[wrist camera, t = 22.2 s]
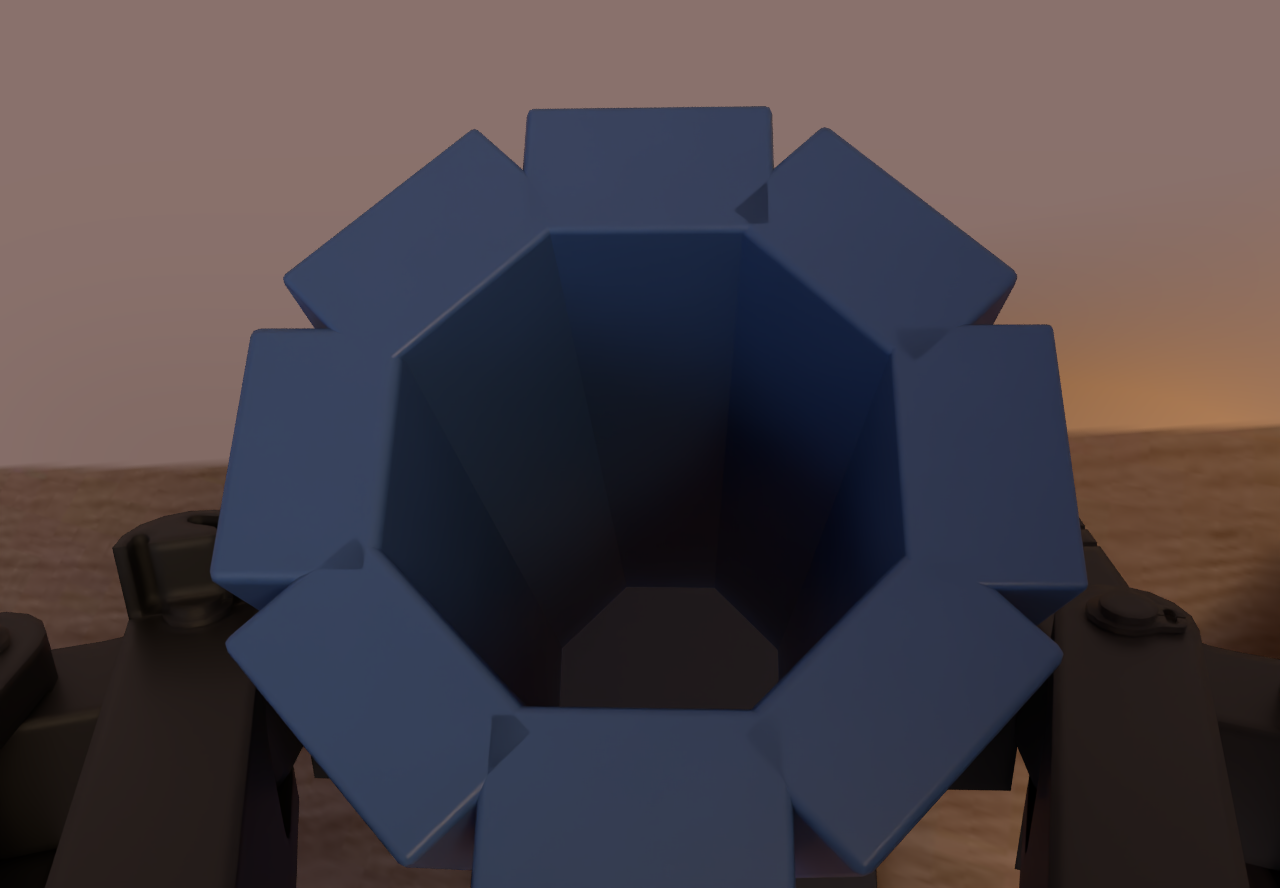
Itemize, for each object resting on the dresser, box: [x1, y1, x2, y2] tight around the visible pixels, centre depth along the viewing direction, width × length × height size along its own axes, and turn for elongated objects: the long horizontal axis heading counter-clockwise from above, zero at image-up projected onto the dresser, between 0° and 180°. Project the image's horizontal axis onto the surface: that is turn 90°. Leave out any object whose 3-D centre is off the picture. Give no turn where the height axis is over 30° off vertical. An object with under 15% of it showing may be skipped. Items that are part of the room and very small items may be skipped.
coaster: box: [559, 587, 877, 888], centre depth 26 cm, size 9×8×1 cm
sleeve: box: [210, 106, 1088, 888], centre depth 13 cm, size 6×6×11 cm
